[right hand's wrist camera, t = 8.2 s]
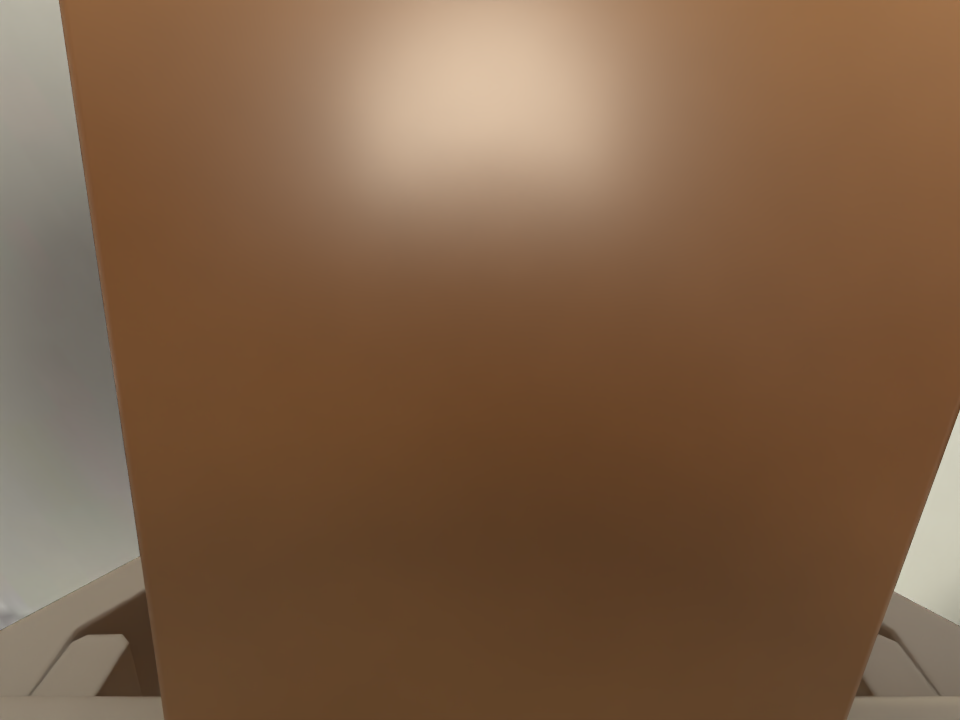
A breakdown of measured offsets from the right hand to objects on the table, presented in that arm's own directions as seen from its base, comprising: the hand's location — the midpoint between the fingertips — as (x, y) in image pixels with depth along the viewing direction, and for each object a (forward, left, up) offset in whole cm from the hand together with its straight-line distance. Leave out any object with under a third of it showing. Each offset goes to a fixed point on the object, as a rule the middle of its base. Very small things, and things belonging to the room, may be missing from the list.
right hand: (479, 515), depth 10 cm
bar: (+3, +9, -4) cm, 11 cm away
